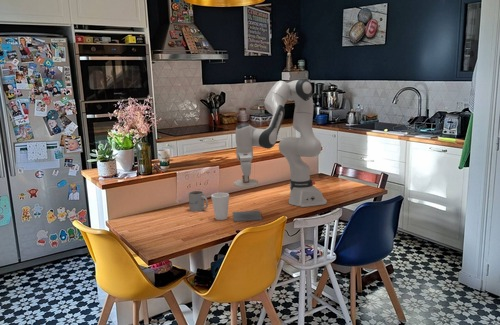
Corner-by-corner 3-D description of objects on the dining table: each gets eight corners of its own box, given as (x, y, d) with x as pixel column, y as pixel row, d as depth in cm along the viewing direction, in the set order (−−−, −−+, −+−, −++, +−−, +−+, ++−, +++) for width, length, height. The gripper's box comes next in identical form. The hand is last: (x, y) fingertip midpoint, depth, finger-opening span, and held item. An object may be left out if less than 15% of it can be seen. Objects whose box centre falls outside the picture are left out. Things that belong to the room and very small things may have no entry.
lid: (256, 180, 237) (256, 172, 236) (259, 186, 224) (259, 177, 223) (233, 181, 235) (232, 173, 234) (234, 187, 223) (234, 179, 222)
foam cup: (227, 221, 226) (226, 197, 224) (210, 220, 228) (209, 197, 226) (231, 215, 236) (230, 192, 233) (215, 215, 237) (214, 192, 235)
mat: (259, 211, 241) (259, 210, 241) (262, 220, 226) (262, 218, 226) (232, 213, 240) (232, 212, 240) (234, 221, 225) (234, 220, 225)
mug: (186, 209, 249) (185, 193, 247) (198, 206, 255) (197, 190, 253) (200, 213, 241) (199, 196, 239) (211, 210, 247) (210, 193, 245)
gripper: (237, 151, 236) (238, 175, 239) (240, 158, 216) (241, 185, 219) (248, 150, 237) (250, 175, 240) (252, 158, 217) (253, 184, 220)
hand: (246, 180), depth 229 cm, fingers closed on lid, 4 cm apart
